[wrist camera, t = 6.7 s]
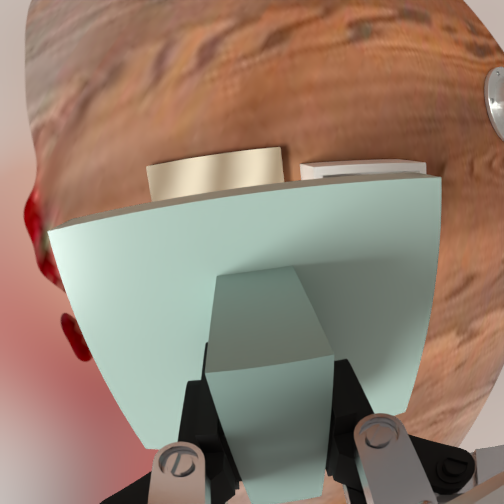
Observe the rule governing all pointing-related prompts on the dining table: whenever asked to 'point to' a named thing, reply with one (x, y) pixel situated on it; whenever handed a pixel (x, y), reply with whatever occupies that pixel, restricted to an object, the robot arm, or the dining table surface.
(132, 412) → the lid
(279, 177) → the board
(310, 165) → the tub
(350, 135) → the dining table surface
